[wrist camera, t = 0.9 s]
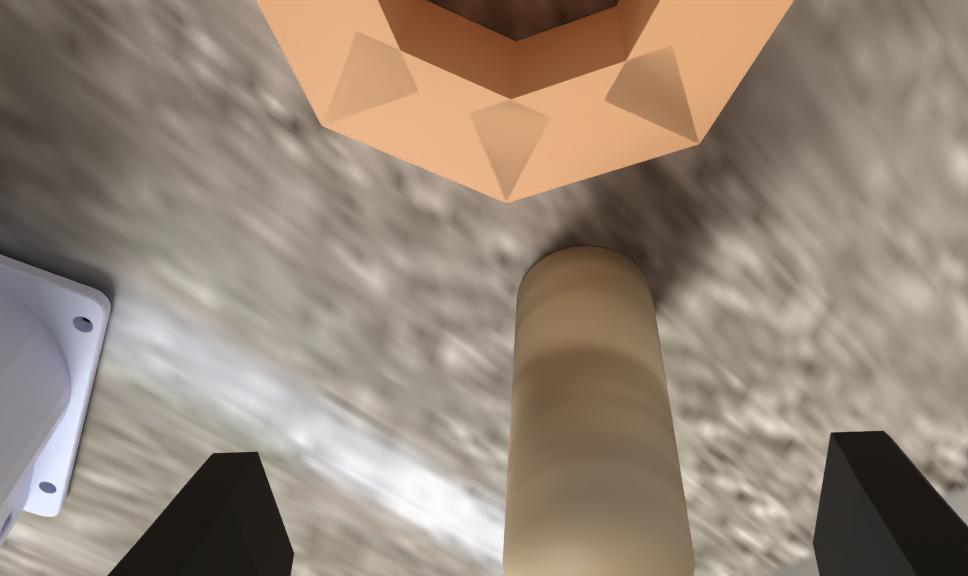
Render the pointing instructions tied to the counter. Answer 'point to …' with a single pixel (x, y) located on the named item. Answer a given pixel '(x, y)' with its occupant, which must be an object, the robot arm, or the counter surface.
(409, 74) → the orange faceted ring
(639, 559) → the dowel
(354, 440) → the counter surface
